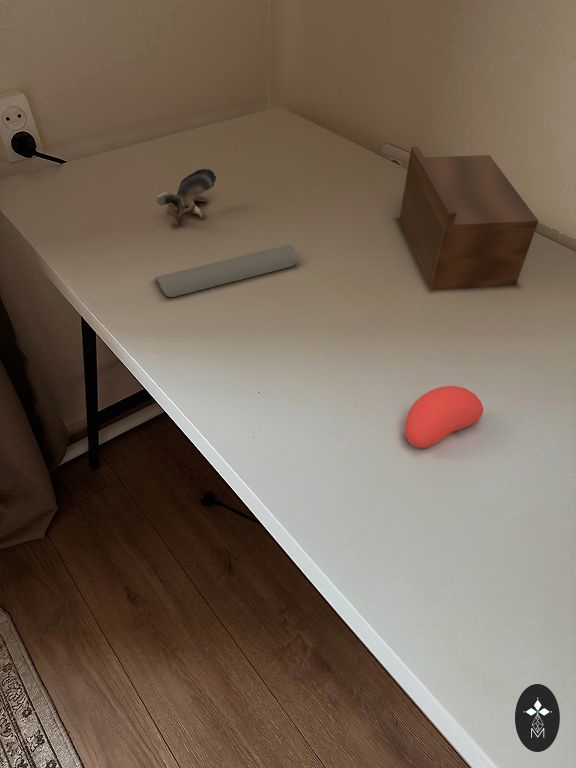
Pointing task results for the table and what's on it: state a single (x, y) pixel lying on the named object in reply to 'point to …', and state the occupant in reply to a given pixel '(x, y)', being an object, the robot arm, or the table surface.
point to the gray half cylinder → (227, 271)
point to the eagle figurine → (188, 194)
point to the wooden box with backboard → (465, 221)
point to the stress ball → (441, 414)
